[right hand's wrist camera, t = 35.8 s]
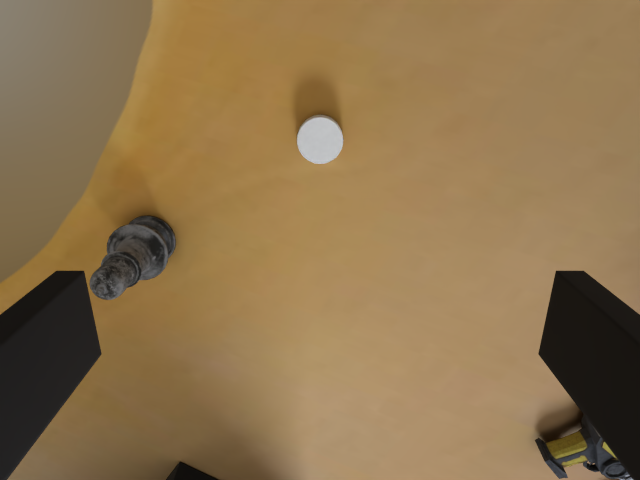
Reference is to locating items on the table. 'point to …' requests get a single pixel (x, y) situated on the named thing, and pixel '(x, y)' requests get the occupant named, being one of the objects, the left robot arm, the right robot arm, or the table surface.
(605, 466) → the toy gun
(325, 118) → the cap
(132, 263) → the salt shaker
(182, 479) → the cardboard box
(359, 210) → the table surface
